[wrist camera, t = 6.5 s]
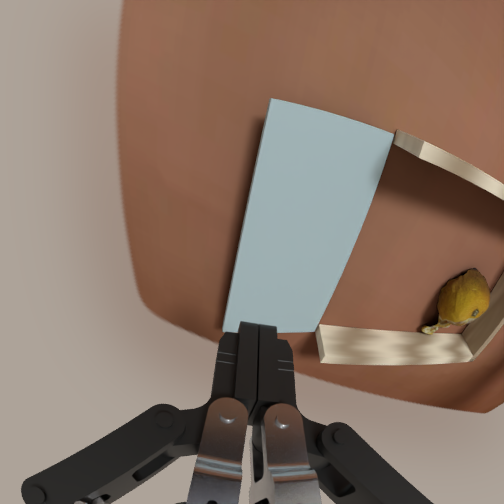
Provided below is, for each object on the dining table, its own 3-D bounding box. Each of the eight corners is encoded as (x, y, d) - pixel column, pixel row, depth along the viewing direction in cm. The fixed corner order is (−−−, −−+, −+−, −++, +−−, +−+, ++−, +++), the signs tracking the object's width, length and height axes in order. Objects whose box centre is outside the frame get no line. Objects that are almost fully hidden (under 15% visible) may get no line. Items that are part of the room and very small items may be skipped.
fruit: (417, 335, 26) (429, 362, 23) (427, 276, 22) (445, 304, 19) (476, 313, 25) (490, 336, 22) (492, 254, 20) (512, 277, 17)
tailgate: (394, 134, 15) (271, 98, 13) (314, 331, 24) (222, 331, 22) (390, 132, 15) (269, 98, 14) (312, 328, 25) (222, 328, 23)
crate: (539, 209, 17) (560, 226, 14) (461, 339, 27) (472, 361, 24) (397, 129, 15) (424, 141, 12) (315, 331, 25) (320, 362, 22)
